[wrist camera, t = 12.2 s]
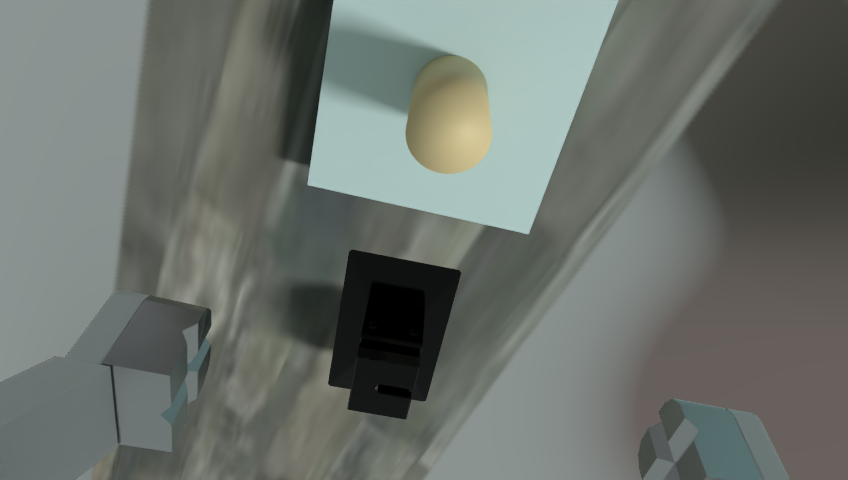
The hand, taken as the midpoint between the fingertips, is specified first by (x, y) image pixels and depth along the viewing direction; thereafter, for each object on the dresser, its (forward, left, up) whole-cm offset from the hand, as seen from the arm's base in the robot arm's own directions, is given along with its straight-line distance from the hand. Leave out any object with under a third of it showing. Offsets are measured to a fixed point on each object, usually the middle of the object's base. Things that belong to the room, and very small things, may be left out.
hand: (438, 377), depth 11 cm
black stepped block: (+14, 0, -17) cm, 22 cm away
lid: (0, 0, -17) cm, 17 cm away
